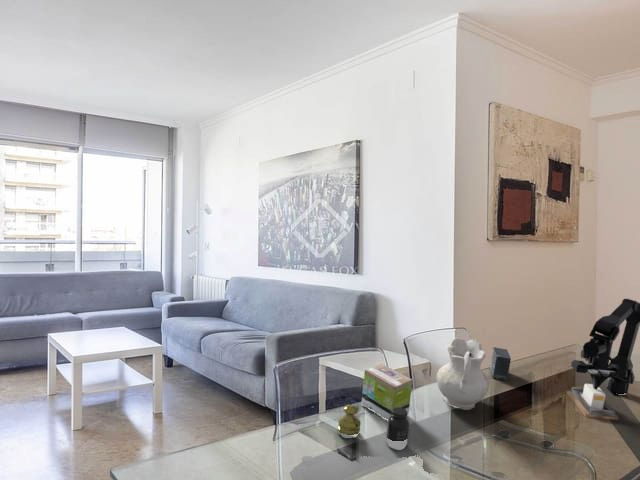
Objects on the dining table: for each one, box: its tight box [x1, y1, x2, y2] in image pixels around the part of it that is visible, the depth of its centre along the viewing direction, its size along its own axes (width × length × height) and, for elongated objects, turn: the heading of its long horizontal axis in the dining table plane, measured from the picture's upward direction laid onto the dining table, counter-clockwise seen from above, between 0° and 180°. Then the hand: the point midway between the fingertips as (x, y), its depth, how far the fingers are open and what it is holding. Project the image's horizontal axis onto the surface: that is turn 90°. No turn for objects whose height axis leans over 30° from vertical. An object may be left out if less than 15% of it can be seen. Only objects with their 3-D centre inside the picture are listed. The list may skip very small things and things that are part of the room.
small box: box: [489, 347, 512, 381], centre depth 217 cm, size 11×6×10 cm, turn 168°
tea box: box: [361, 363, 413, 419], centre depth 179 cm, size 15×10×15 cm, turn 42°
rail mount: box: [566, 386, 620, 421], centre depth 195 cm, size 12×18×3 cm, turn 175°
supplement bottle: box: [386, 407, 410, 441], centre depth 160 cm, size 7×7×12 cm
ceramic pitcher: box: [436, 336, 490, 407], centre depth 187 cm, size 22×20×25 cm
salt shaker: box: [337, 404, 362, 435], centre depth 164 cm, size 7×7×10 cm
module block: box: [582, 383, 607, 409], centre depth 195 cm, size 4×8×6 cm, turn 175°
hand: (594, 388), depth 194 cm, fingers closed
